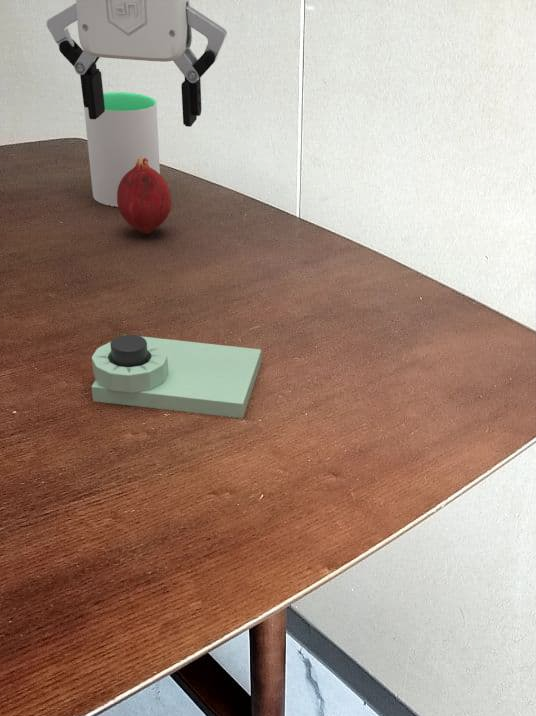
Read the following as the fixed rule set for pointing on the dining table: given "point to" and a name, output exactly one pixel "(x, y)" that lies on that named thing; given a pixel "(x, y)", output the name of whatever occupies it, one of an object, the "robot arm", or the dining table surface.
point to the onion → (144, 197)
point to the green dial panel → (180, 377)
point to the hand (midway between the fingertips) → (143, 119)
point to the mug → (120, 141)
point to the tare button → (129, 351)
